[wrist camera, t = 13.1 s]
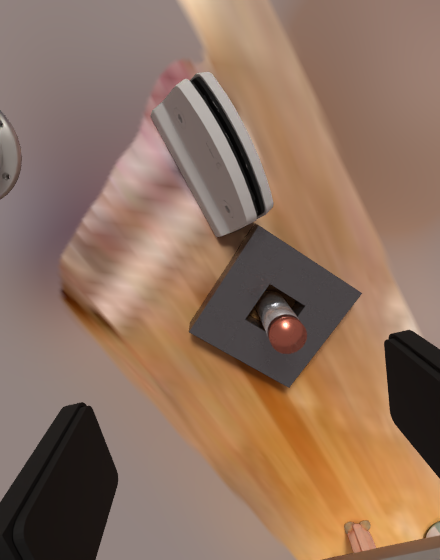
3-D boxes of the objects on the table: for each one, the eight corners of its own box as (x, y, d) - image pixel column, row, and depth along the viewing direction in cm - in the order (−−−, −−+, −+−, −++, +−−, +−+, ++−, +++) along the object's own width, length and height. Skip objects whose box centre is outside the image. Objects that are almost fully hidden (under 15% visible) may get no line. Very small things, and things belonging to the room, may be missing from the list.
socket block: (189, 322, 44) (188, 332, 41) (255, 223, 41) (259, 225, 38) (283, 375, 47) (289, 387, 44) (351, 286, 43) (362, 293, 41)
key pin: (253, 294, 43) (266, 324, 34) (282, 287, 43) (304, 315, 33) (258, 321, 44) (273, 357, 35) (286, 314, 44) (309, 349, 35)
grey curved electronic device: (148, 112, 37) (163, 66, 27) (183, 96, 38) (209, 46, 28) (217, 239, 41) (251, 237, 32) (246, 221, 42) (287, 214, 33)
